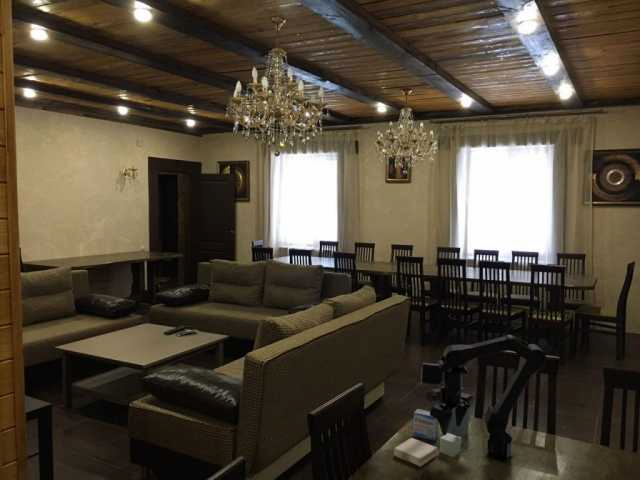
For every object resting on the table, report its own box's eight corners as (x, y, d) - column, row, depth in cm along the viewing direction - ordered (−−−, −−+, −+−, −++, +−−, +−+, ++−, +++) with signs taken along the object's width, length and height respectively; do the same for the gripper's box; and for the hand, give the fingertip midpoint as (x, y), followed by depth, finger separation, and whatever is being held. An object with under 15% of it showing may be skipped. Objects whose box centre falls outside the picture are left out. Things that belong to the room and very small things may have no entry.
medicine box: (412, 436, 188) (413, 412, 187) (416, 431, 192) (417, 408, 191) (434, 441, 185) (435, 417, 184) (438, 436, 189) (439, 412, 188)
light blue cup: (436, 430, 193) (437, 398, 192) (452, 422, 200) (453, 391, 198) (460, 440, 185) (461, 407, 184) (476, 431, 192) (477, 399, 191)
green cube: (460, 452, 178) (461, 437, 177) (453, 457, 174) (453, 442, 173) (447, 446, 181) (447, 432, 180) (439, 452, 177) (440, 437, 177)
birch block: (437, 456, 175) (437, 447, 175) (420, 467, 168) (420, 458, 168) (411, 446, 182) (411, 437, 182) (394, 456, 175) (394, 448, 174)
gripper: (445, 371, 187) (444, 414, 189) (416, 386, 174) (415, 432, 175) (474, 379, 180) (473, 424, 181) (446, 395, 166) (445, 443, 168)
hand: (451, 430), depth 177 cm, fingers open, 9 cm apart
